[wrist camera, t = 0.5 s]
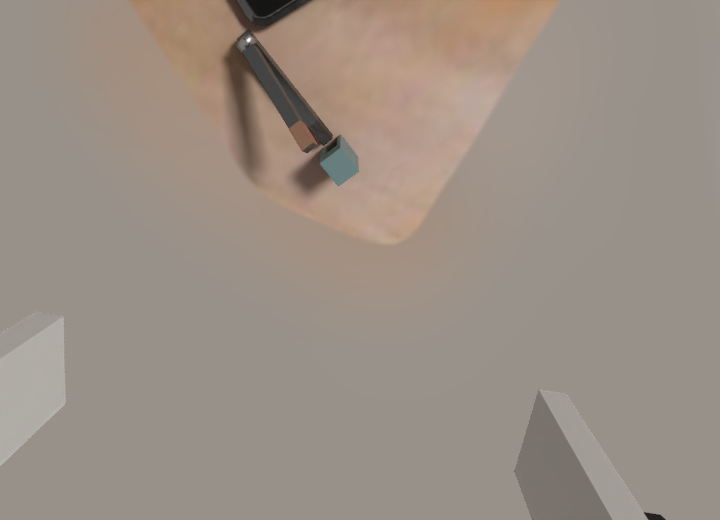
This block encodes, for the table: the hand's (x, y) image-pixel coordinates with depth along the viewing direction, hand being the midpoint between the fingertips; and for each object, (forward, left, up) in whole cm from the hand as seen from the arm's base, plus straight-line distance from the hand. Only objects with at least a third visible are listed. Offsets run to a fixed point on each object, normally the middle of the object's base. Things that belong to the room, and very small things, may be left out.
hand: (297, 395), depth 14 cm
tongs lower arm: (-2, -4, -25) cm, 25 cm away
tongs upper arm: (-2, -4, -22) cm, 22 cm away
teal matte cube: (0, +1, -25) cm, 25 cm away
